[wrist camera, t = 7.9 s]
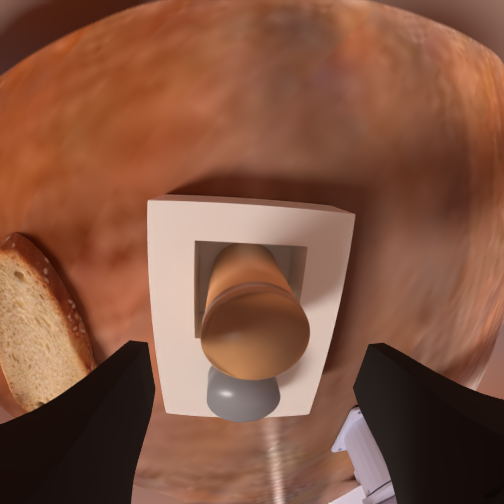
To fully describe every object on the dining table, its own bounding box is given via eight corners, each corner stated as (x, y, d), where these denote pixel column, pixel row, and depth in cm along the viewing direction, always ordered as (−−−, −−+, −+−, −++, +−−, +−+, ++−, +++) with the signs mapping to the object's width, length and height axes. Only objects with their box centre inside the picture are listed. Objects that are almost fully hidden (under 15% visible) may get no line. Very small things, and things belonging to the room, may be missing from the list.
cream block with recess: (330, 205, 16) (374, 221, 11) (298, 383, 20) (315, 434, 15) (164, 194, 15) (133, 205, 10) (172, 380, 19) (162, 434, 14)
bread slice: (21, 212, 15) (-10, 221, 11) (167, 384, 20) (160, 417, 16) (-30, 317, 17) (-48, 332, 13) (72, 429, 21) (62, 451, 18)
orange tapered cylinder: (282, 242, 16) (318, 291, 9) (275, 305, 17) (300, 378, 11) (211, 238, 16) (199, 287, 9) (210, 302, 17) (201, 378, 10)
